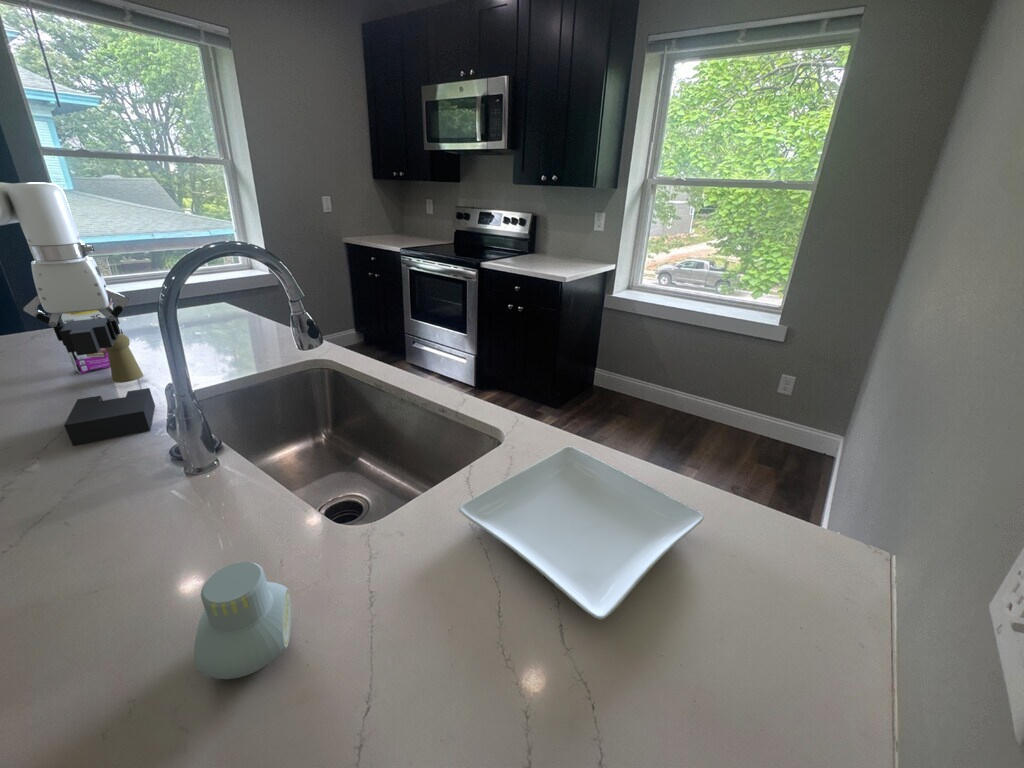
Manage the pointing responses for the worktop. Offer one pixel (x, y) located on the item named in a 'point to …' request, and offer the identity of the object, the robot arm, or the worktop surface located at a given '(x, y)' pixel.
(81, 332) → the pad
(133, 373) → the cork
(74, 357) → the candy bar box
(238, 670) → the air freshener
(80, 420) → the notch pad
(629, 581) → the square plate
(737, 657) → the worktop surface
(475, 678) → the worktop surface
